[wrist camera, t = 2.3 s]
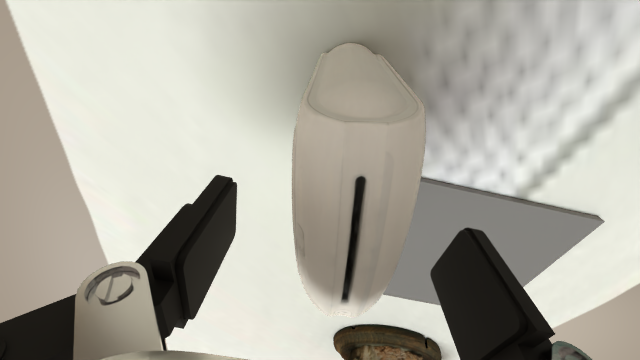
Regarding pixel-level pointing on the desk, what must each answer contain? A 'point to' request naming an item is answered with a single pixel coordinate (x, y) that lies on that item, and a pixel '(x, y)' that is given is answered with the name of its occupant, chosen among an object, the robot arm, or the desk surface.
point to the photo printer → (354, 178)
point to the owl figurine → (383, 344)
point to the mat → (495, 221)
